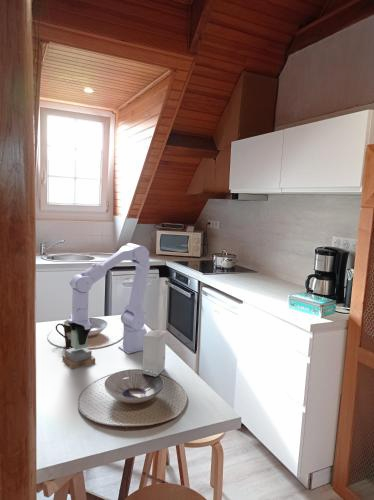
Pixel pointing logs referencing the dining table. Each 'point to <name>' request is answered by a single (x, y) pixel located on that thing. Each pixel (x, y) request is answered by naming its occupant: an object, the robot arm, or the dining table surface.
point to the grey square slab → (78, 354)
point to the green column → (75, 341)
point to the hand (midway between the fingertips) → (79, 342)
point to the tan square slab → (79, 363)
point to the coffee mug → (66, 333)
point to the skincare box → (154, 351)
